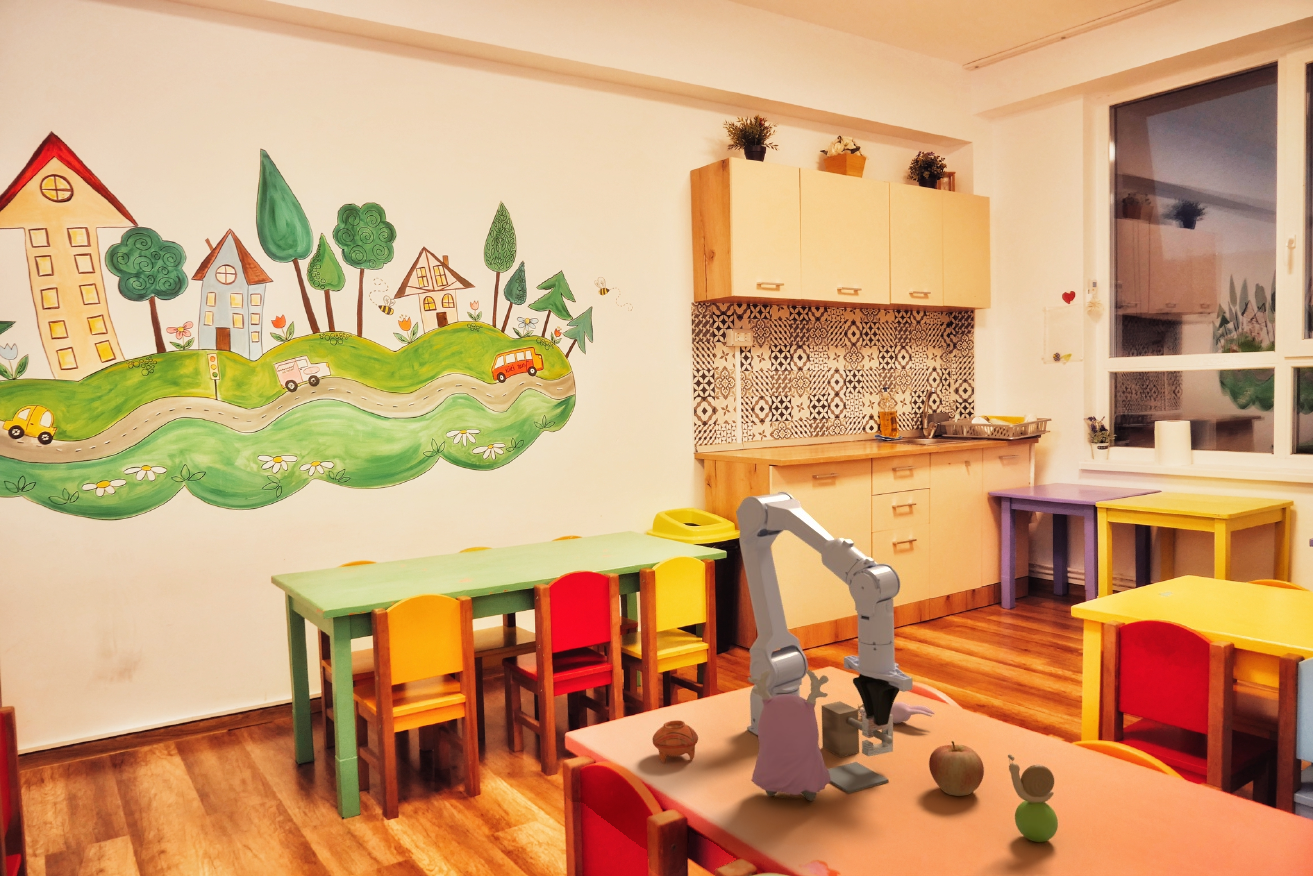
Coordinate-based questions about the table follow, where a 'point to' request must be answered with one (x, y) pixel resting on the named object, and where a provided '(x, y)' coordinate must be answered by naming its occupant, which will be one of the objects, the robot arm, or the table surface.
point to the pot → (675, 740)
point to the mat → (855, 777)
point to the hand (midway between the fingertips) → (878, 722)
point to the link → (867, 731)
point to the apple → (956, 769)
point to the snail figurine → (1034, 802)
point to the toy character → (789, 742)
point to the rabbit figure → (903, 711)
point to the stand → (843, 729)
